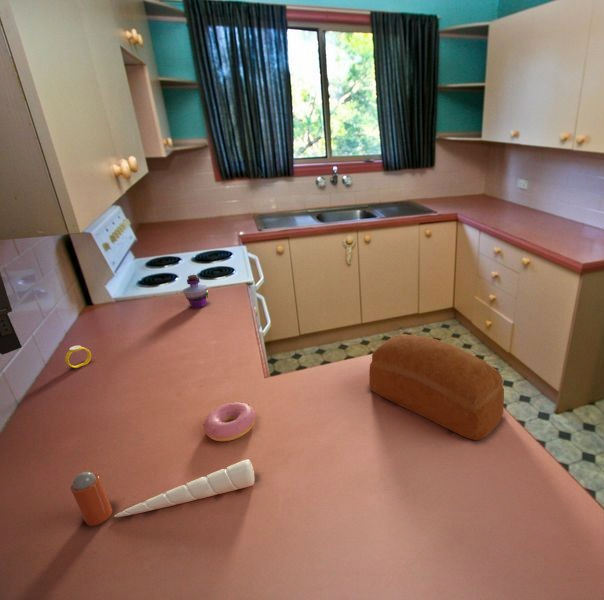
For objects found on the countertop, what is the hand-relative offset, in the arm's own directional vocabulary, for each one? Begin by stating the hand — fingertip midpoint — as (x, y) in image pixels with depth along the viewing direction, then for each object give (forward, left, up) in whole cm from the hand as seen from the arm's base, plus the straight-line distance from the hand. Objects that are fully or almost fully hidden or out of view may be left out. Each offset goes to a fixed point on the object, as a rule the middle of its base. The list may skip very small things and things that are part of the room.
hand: (10, 349), depth 71 cm
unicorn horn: (+26, +8, -30) cm, 40 cm away
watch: (-44, +25, -30) cm, 59 cm away
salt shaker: (+14, -2, -29) cm, 33 cm away
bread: (+54, +54, -30) cm, 82 cm away
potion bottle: (-49, +69, -30) cm, 90 cm away
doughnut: (+17, +25, -30) cm, 42 cm away
